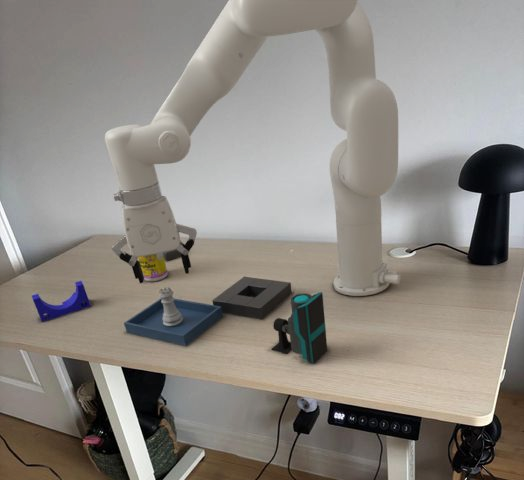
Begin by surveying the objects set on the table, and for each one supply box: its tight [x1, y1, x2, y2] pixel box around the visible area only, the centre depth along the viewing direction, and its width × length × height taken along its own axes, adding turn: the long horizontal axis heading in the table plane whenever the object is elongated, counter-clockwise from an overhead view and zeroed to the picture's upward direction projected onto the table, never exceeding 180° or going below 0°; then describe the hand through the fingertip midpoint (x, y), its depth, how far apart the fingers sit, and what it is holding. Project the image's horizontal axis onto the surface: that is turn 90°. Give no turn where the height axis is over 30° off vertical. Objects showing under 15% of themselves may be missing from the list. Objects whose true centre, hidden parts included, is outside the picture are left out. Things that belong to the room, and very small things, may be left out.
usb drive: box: [163, 249, 181, 262], centre depth 155 cm, size 5×12×3 cm, turn 30°
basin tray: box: [123, 298, 224, 347], centre depth 115 cm, size 17×13×2 cm
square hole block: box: [211, 276, 293, 320], centre depth 118 cm, size 13×13×3 cm
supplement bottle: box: [137, 253, 168, 282], centre depth 137 cm, size 7×7×13 cm
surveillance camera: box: [271, 291, 328, 364], centre depth 95 cm, size 6×12×10 cm
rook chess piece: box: [158, 286, 183, 327], centre depth 113 cm, size 4×4×8 cm
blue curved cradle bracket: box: [31, 280, 92, 323], centre depth 128 cm, size 12×4×6 cm, turn 117°
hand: (164, 276), depth 109 cm, fingers open, 9 cm apart
